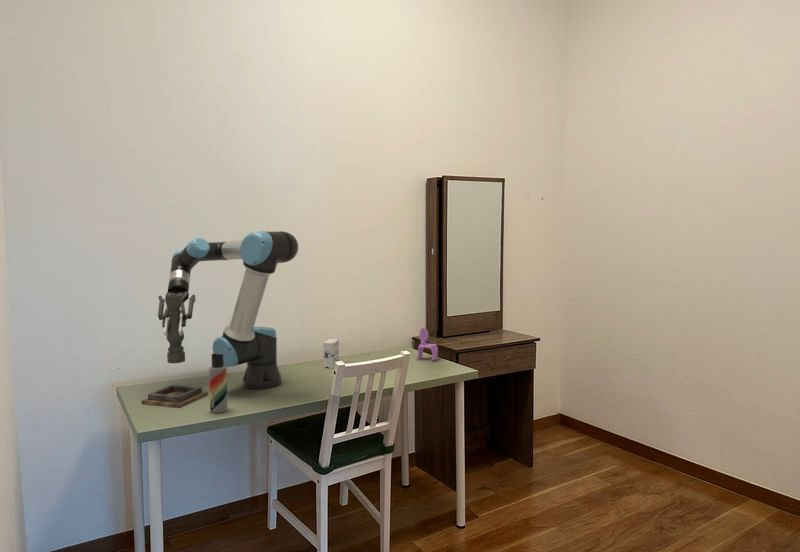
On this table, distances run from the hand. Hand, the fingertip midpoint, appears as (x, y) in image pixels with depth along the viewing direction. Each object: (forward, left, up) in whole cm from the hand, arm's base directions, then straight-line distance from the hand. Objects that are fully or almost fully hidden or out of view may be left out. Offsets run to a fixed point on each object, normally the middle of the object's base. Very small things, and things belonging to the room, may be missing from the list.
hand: (172, 333), depth 204 cm
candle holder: (+2, -4, -11) cm, 12 cm away
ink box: (-37, -60, -24) cm, 74 cm away
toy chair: (-76, -84, -24) cm, 116 cm away
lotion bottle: (-25, +9, -24) cm, 36 cm away
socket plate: (-2, +2, -24) cm, 24 cm away
